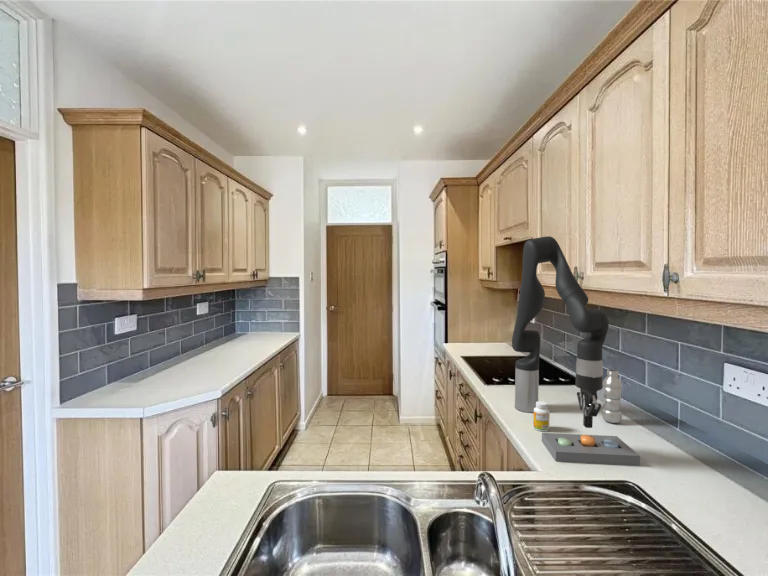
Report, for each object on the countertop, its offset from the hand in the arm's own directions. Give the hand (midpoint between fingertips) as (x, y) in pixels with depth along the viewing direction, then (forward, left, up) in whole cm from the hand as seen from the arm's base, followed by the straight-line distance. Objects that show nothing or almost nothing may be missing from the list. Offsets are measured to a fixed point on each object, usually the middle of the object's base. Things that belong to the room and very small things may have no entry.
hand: (587, 426), depth 122 cm
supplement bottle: (-18, -9, -9) cm, 22 cm away
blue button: (0, +7, -7) cm, 10 cm away
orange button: (0, 0, -6) cm, 6 cm away
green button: (0, -7, -7) cm, 10 cm away
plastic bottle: (-28, +20, -9) cm, 36 cm away
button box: (0, 0, -8) cm, 8 cm away
